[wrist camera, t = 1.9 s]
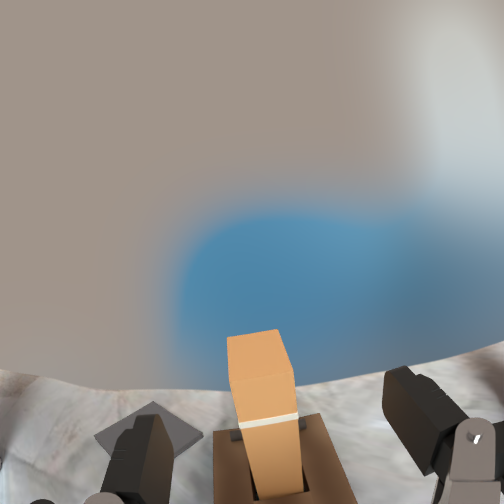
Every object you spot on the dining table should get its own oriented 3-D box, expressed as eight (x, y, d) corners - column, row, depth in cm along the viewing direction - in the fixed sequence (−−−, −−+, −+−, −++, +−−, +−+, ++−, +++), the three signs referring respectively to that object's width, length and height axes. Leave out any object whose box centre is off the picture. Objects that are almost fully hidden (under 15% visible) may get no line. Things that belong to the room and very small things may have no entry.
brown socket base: (320, 435, 33) (319, 405, 32) (355, 526, 19) (361, 502, 18) (220, 452, 32) (210, 424, 31) (224, 550, 19) (211, 530, 17)
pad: (136, 483, 27) (134, 479, 27) (95, 439, 34) (93, 435, 34) (203, 436, 35) (201, 432, 35) (154, 405, 42) (153, 401, 42)
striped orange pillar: (293, 466, 29) (278, 328, 25) (305, 507, 23) (294, 370, 19) (256, 472, 29) (226, 337, 24) (263, 515, 23) (228, 382, 19)
